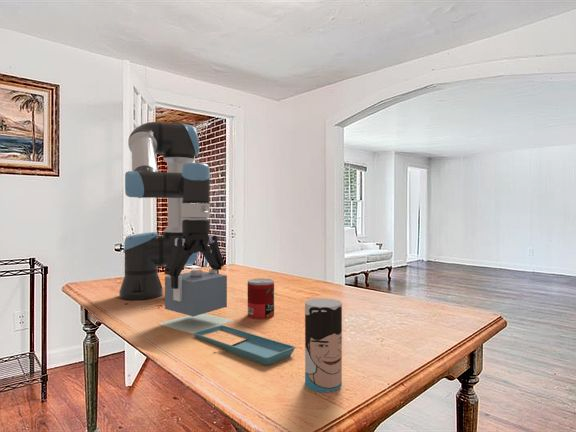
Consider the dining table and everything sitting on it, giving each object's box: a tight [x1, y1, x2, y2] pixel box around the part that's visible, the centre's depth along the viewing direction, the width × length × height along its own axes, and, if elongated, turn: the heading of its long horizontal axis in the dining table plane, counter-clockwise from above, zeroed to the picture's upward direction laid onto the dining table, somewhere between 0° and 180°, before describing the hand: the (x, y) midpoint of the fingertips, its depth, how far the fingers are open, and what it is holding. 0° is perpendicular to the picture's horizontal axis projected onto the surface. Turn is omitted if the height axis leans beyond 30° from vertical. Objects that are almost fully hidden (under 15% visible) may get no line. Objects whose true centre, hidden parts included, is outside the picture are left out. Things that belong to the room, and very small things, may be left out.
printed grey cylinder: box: [304, 297, 343, 393], centre depth 72 cm, size 7×7×15 cm
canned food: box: [247, 277, 275, 320], centre depth 116 cm, size 8×8×11 cm
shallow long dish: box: [193, 324, 296, 366], centre depth 91 cm, size 26×9×2 cm, turn 48°
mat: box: [157, 313, 236, 335], centre depth 109 cm, size 15×15×1 cm
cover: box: [164, 269, 228, 317], centre depth 109 cm, size 12×12×10 cm
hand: (196, 295), depth 109 cm, fingers closed on cover, 12 cm apart
